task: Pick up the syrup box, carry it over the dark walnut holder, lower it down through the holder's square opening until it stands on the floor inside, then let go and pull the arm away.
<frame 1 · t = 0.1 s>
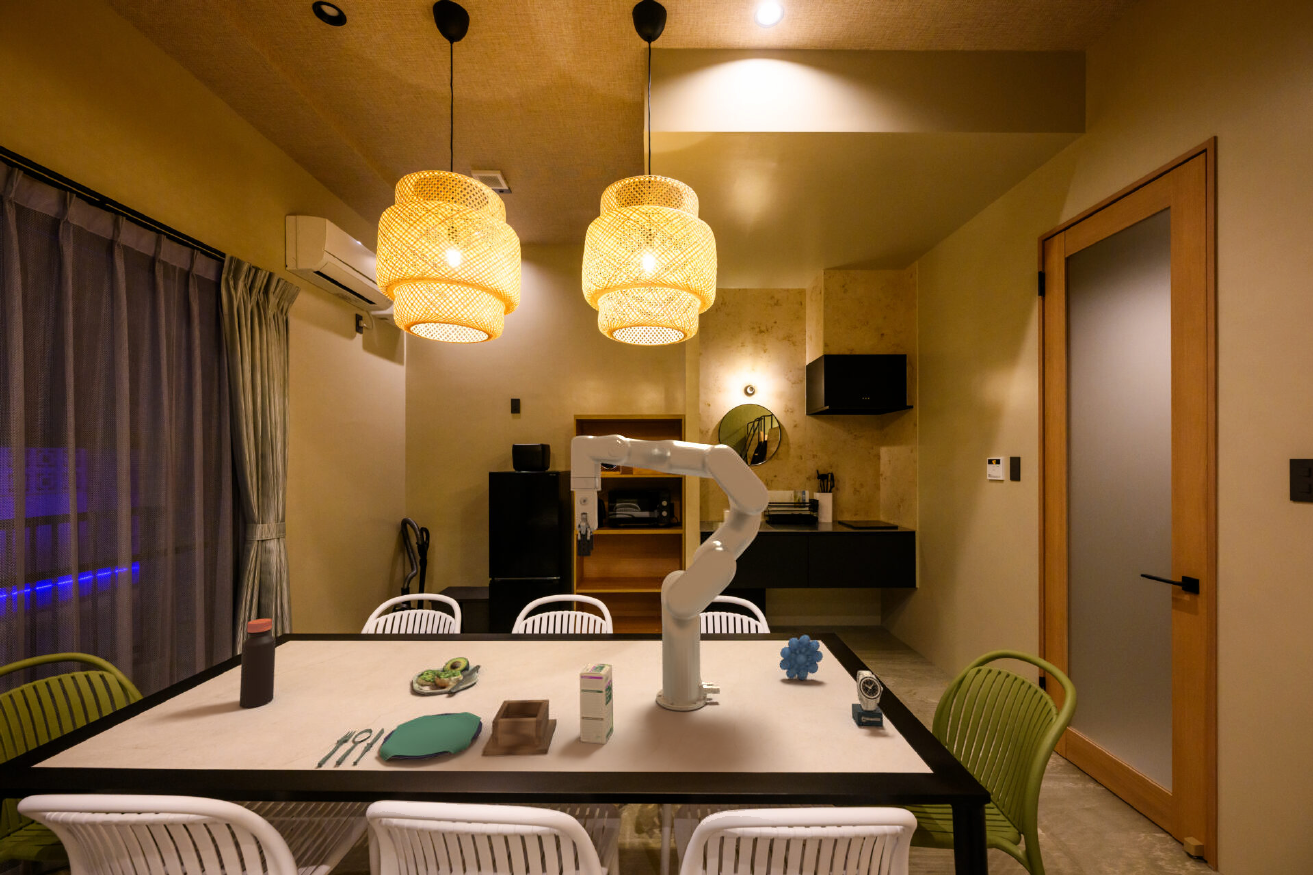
hand: (585, 552, 134), 37 cm above the table, tool pointing down, fingers open, 9 cm apart
bottle: (256, 703, 133), on the table
cutlery set: (408, 745, 113), on the table
blue knobbly flower shape: (800, 679, 146), on the table
syrup box: (596, 737, 115), on the table
avocado toast plate: (447, 683, 146), on the table
watch: (867, 723, 120), on the table
walnut holder: (521, 738, 114), on the table
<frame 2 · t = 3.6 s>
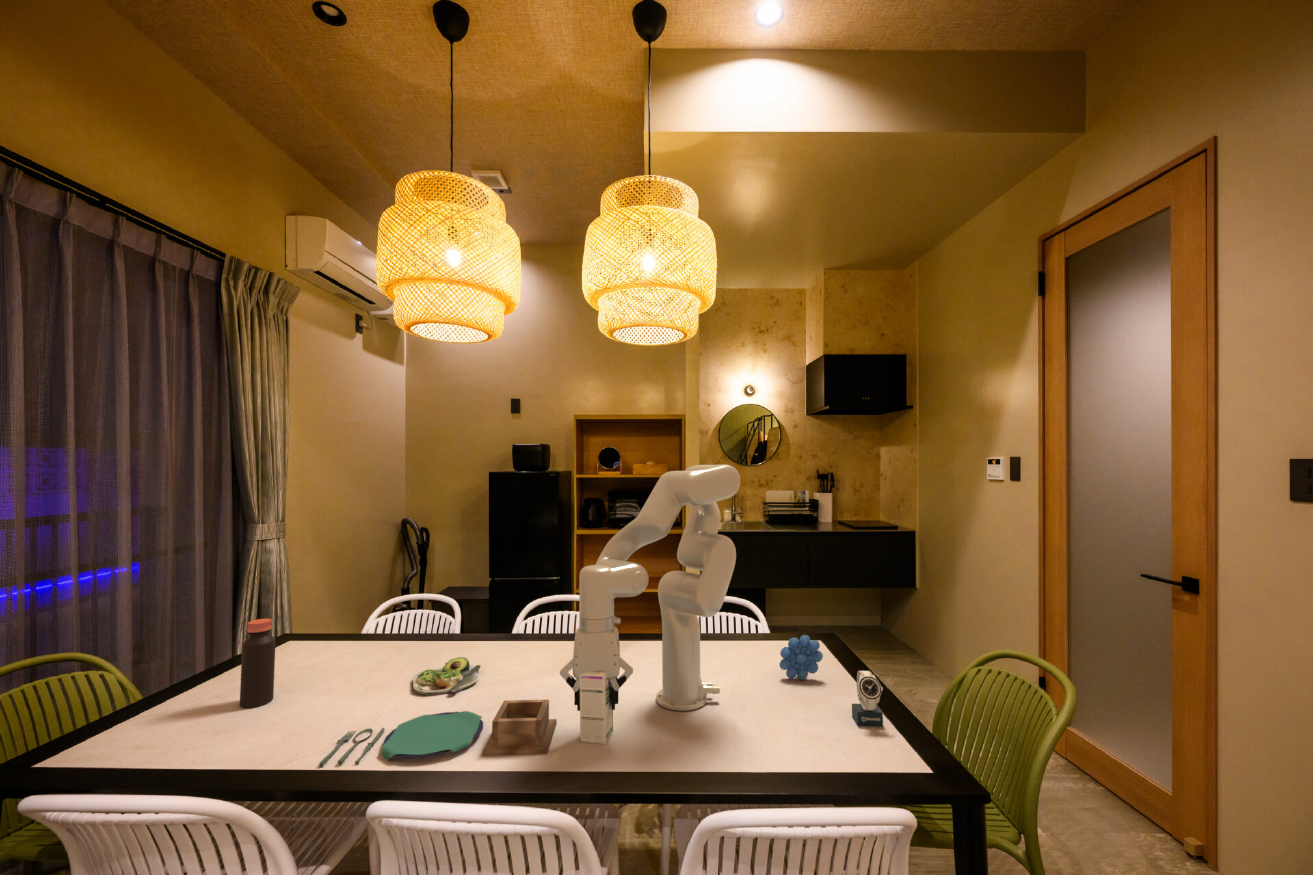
hand: (596, 706, 115), 6 cm above the table, tool pointing down, fingers closed on syrup box, 6 cm apart
syrup box: (596, 737, 115), on the table, touching gripper
everything else where it was.
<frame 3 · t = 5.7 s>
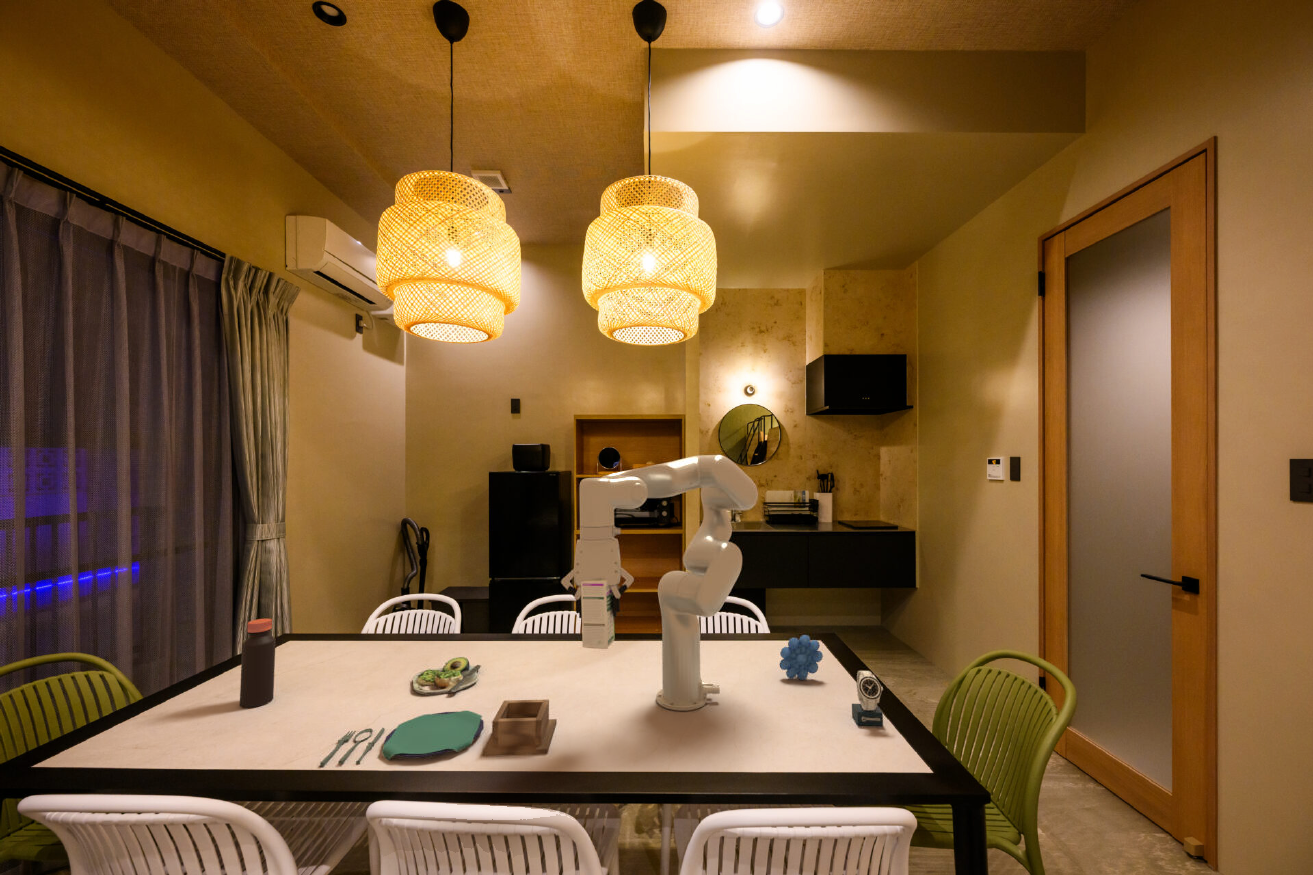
hand: (598, 615, 117), 26 cm above the table, tool pointing down, fingers closed on syrup box, 6 cm apart
syrup box: (598, 645, 116), point 19 cm above the table, touching gripper
everything else where it was.
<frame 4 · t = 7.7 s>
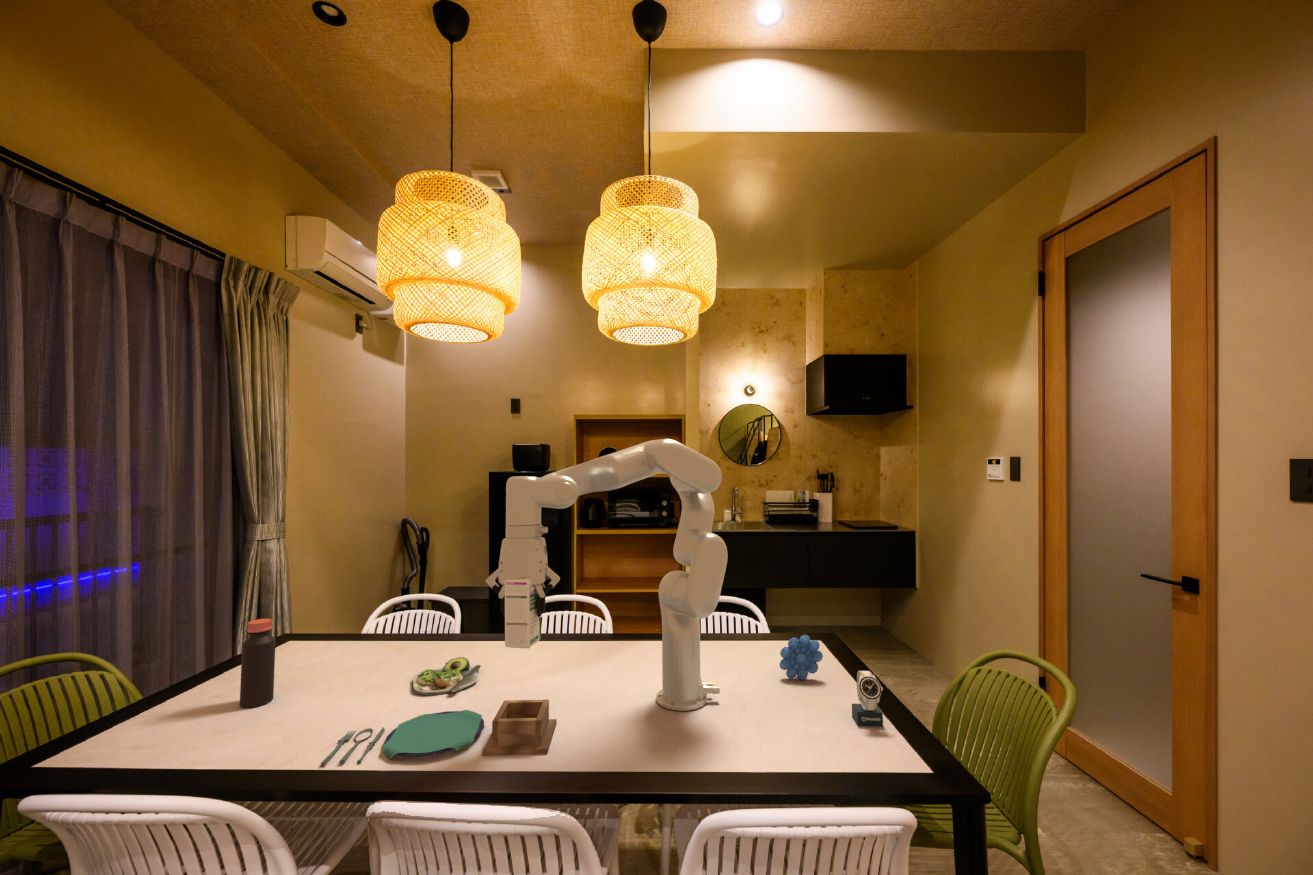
hand: (522, 614, 116), 26 cm above the table, tool pointing down, fingers closed on syrup box, 6 cm apart
syrup box: (522, 644, 115), point 20 cm above the table, touching gripper
everything else where it was.
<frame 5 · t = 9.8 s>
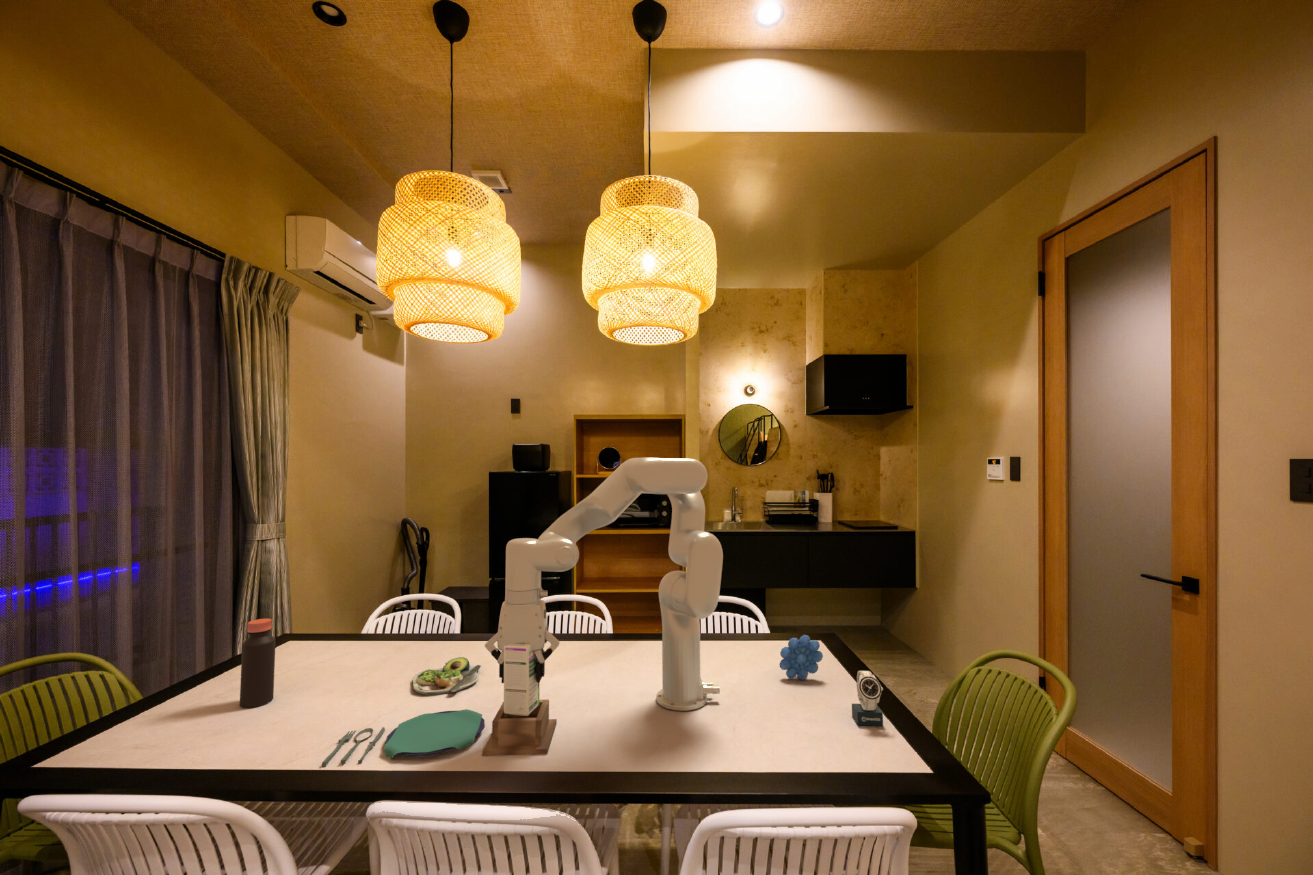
hand: (521, 679, 115), 12 cm above the table, tool pointing down, fingers closed on syrup box, 6 cm apart
syrup box: (521, 710, 114), point 6 cm above the table, touching gripper
everything else where it was.
when the fingers open (9 cm above the table, at t = 11.6 s): syrup box drops 1 cm, resting on walnut holder.
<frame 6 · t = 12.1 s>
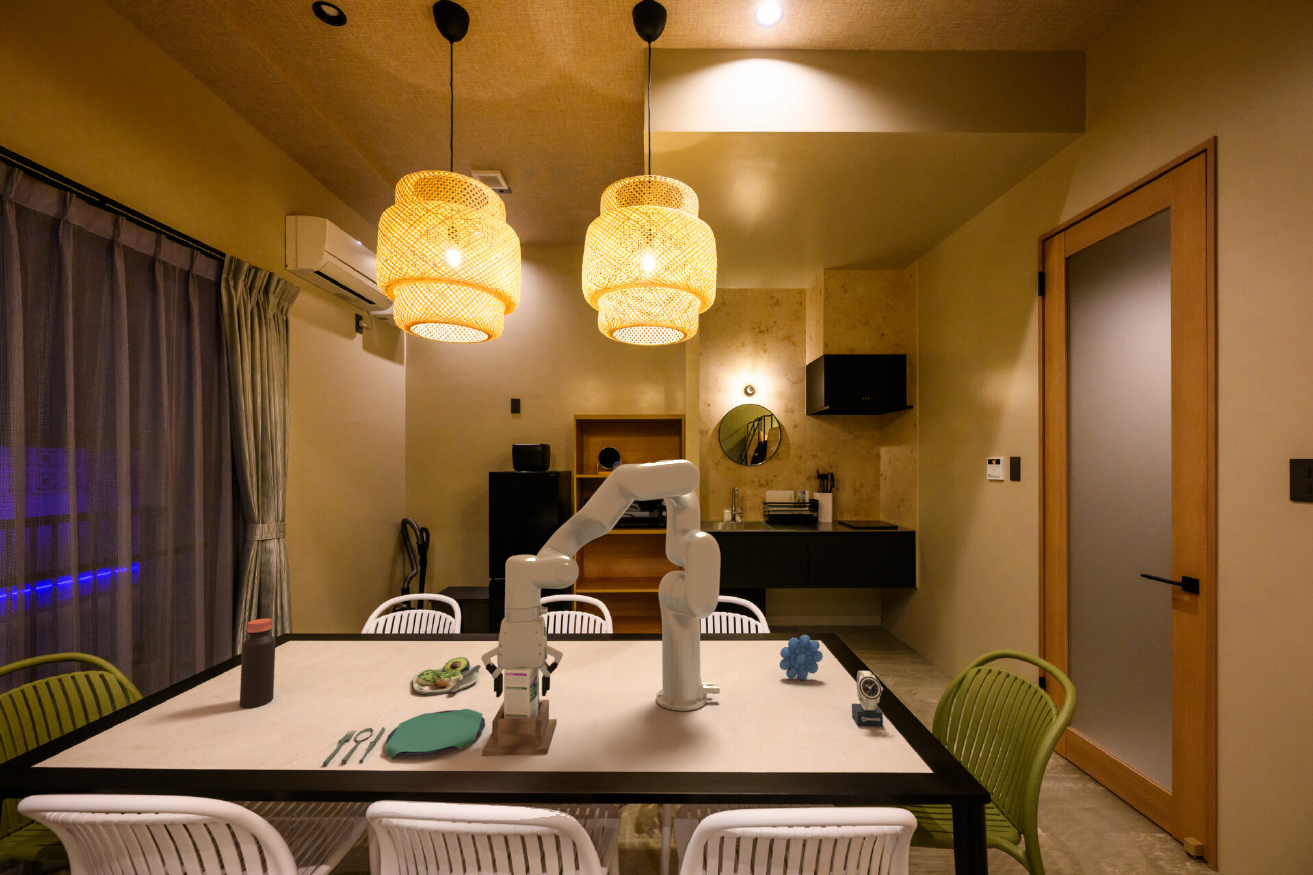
hand: (522, 694, 115), 9 cm above the table, tool pointing down, fingers open, 9 cm apart
syrup box: (521, 734, 114), point 1 cm above the table, touching walnut holder
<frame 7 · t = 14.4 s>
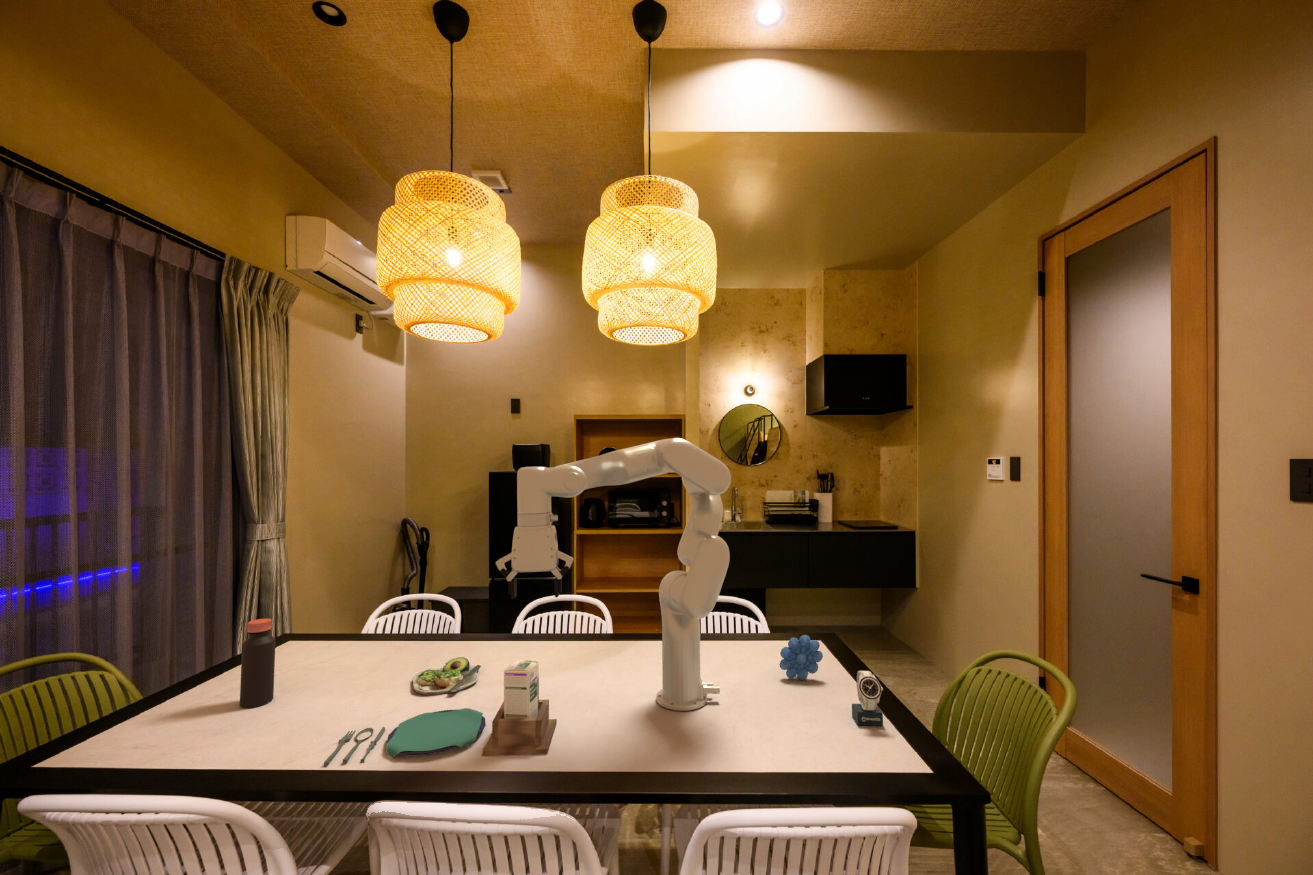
hand: (535, 596, 120), 29 cm above the table, tool pointing down, fingers open, 9 cm apart
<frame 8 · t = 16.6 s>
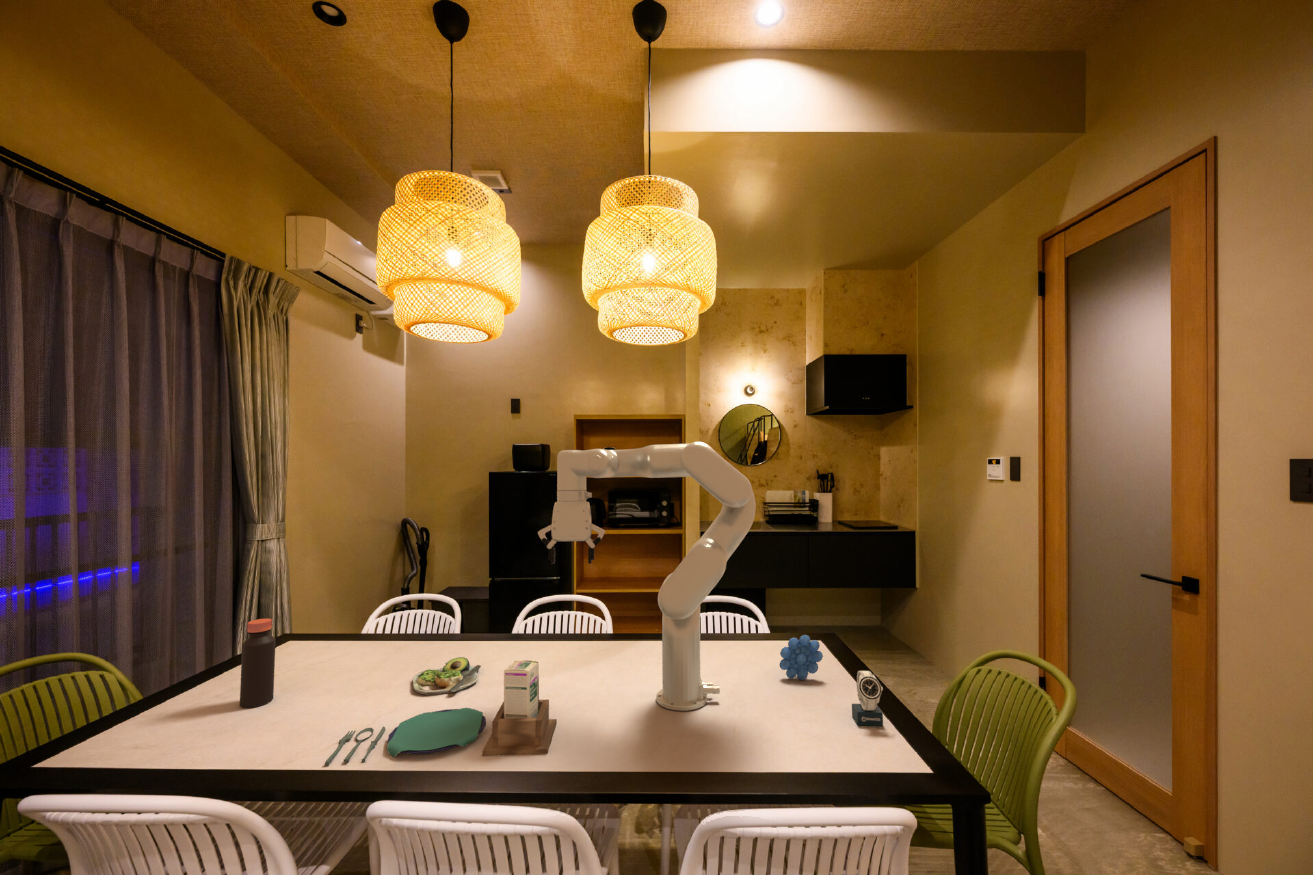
hand: (571, 563, 138), 33 cm above the table, tool pointing down, fingers open, 9 cm apart
at the end: syrup box 0.1 cm off-centre on the walnut holder, point 0.8 cm above the walnut holder's base; syrup box tilted 0°; the gripper is holding nothing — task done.
